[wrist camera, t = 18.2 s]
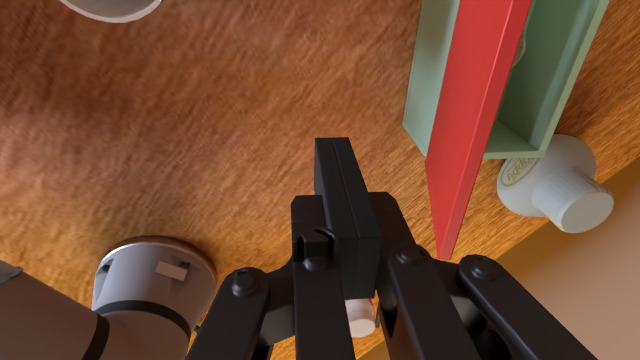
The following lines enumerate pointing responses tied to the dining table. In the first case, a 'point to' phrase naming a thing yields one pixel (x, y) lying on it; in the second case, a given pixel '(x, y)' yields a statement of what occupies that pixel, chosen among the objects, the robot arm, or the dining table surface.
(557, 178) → the air freshener
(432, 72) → the open storage box
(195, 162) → the dining table surface
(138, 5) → the coffee mug
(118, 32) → the dining table surface
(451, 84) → the lid
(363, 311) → the pill bottle
